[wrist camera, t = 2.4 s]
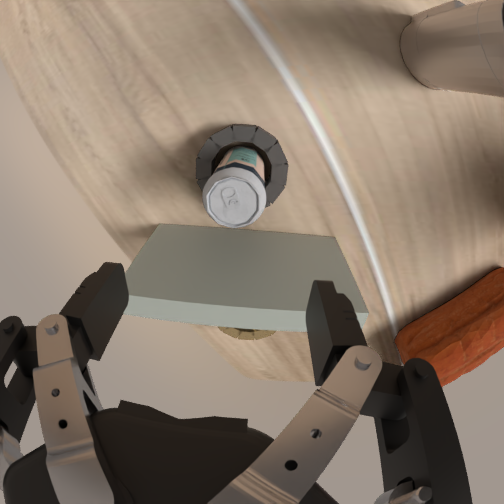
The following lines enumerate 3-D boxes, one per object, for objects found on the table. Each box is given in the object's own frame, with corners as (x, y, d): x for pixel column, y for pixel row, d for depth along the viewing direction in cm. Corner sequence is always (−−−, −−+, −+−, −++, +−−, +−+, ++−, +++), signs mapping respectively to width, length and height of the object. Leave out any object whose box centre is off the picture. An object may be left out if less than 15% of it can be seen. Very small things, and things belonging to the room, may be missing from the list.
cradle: (202, 122, 28) (197, 124, 26) (289, 128, 28) (292, 130, 26) (200, 202, 33) (196, 210, 30) (280, 208, 33) (281, 216, 31)
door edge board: (159, 223, 34) (112, 292, 22) (334, 237, 34) (368, 312, 22) (160, 240, 35) (118, 313, 23) (331, 253, 36) (360, 332, 24)
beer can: (229, 191, 32) (214, 240, 22) (214, 153, 30) (189, 184, 19) (270, 178, 31) (275, 222, 21) (256, 139, 29) (254, 161, 18)
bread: (389, 328, 43) (409, 376, 34) (504, 255, 35) (537, 289, 26) (404, 368, 49) (418, 408, 40) (501, 307, 41) (525, 339, 32)
